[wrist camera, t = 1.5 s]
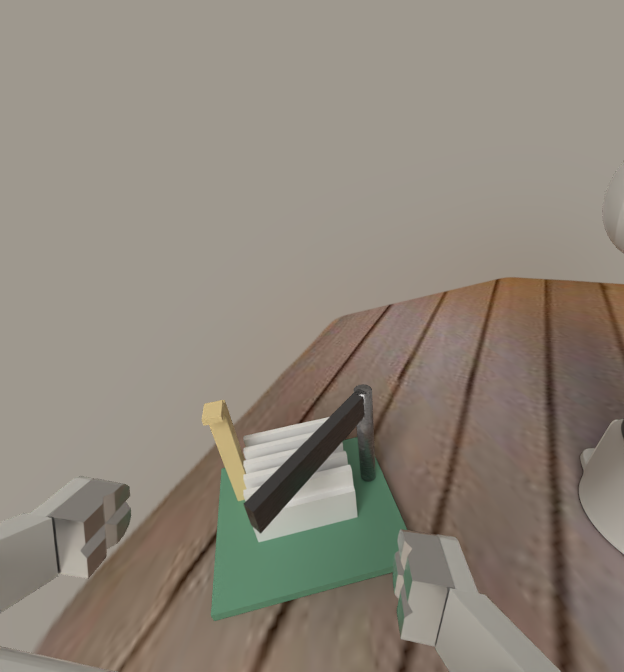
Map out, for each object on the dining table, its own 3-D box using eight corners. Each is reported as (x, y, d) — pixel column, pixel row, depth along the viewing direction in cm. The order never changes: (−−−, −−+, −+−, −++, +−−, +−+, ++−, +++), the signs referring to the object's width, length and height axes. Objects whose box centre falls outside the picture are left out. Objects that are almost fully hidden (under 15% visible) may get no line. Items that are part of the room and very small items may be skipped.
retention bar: (365, 466, 45) (360, 382, 38) (378, 473, 44) (375, 388, 37) (272, 587, 34) (240, 501, 27) (286, 601, 33) (256, 514, 26)
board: (366, 440, 51) (360, 346, 43) (419, 564, 36) (426, 455, 27) (223, 473, 49) (188, 381, 41) (214, 621, 34) (153, 521, 25)
